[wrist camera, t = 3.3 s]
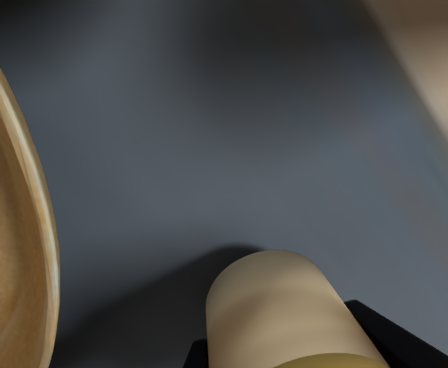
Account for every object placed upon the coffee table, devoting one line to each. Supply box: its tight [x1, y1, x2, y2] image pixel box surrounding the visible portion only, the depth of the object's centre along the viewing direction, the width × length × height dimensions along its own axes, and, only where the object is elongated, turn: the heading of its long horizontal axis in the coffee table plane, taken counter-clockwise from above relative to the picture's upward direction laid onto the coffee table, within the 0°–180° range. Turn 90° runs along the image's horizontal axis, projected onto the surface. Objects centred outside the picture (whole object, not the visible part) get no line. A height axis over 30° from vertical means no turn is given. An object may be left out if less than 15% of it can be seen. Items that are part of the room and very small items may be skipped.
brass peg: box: [206, 250, 390, 368], centre depth 7 cm, size 4×4×4 cm
